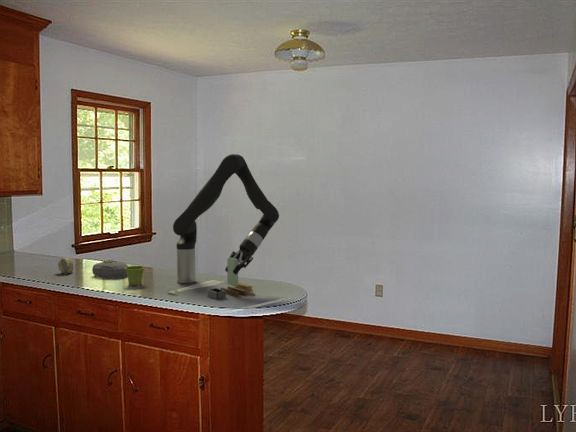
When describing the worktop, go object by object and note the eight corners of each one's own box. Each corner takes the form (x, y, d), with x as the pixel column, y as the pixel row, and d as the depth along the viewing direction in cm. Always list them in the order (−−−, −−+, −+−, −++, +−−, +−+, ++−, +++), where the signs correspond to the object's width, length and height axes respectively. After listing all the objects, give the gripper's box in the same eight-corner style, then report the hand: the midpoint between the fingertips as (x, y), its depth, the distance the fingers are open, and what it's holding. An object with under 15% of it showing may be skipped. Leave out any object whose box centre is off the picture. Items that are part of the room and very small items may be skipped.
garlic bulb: (68, 278, 284) (67, 263, 280) (54, 275, 285) (52, 260, 281) (78, 270, 293) (76, 255, 289) (64, 267, 294) (63, 252, 290)
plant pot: (149, 283, 260) (148, 266, 259) (133, 287, 252) (133, 270, 251) (136, 281, 265) (136, 265, 264) (121, 285, 257) (121, 267, 256)
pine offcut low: (237, 289, 243) (237, 285, 243) (253, 293, 234) (253, 289, 234) (231, 290, 241) (231, 286, 241) (246, 294, 232) (246, 290, 232)
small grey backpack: (88, 276, 278) (114, 280, 268) (87, 261, 278) (113, 264, 268) (110, 272, 291) (136, 275, 281) (110, 257, 291) (135, 260, 281)
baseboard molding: (230, 285, 259) (212, 282, 265) (230, 279, 258) (211, 277, 265) (186, 298, 232) (167, 295, 239) (186, 292, 232) (167, 289, 239)
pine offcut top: (239, 286, 241) (239, 282, 241) (252, 289, 234) (252, 285, 234) (234, 287, 239) (234, 283, 239) (246, 290, 232) (246, 286, 232)
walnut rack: (237, 290, 245) (237, 284, 244) (255, 295, 234) (255, 289, 234) (219, 294, 238) (218, 287, 237) (237, 299, 227) (236, 293, 227)
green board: (231, 283, 237) (230, 257, 236) (238, 285, 233) (238, 259, 232) (227, 284, 235) (227, 258, 234) (234, 286, 231) (234, 259, 230)
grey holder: (216, 296, 233) (216, 287, 233) (226, 299, 227) (226, 291, 227) (206, 298, 230) (206, 289, 229) (216, 301, 224) (216, 292, 223)
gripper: (237, 236, 243) (216, 265, 236) (256, 240, 232) (234, 269, 225) (246, 246, 247) (226, 274, 240) (265, 250, 236) (244, 279, 229)
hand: (230, 272), depth 233 cm, fingers closed on green board, 5 cm apart
